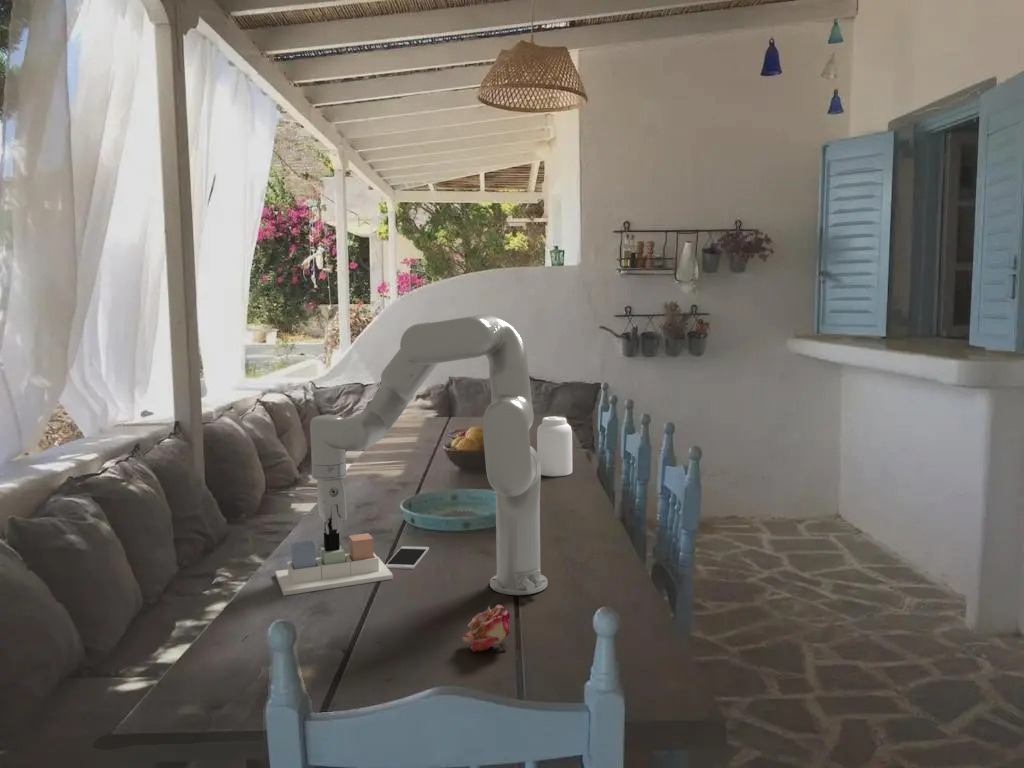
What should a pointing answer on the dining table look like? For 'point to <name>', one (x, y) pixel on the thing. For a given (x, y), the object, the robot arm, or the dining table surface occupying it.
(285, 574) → the board
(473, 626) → the flower
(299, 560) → the slate button
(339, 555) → the sage button
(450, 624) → the dining table surface
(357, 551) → the terracotta button
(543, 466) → the white jar
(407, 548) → the smartphone
